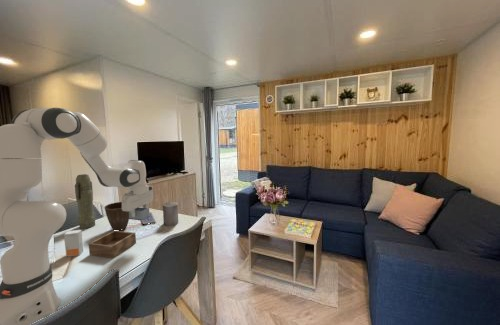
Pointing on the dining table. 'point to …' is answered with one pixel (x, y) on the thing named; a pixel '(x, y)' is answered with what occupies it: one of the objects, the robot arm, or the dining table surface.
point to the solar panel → (149, 219)
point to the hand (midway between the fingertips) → (139, 214)
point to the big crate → (112, 244)
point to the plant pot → (117, 216)
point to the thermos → (84, 201)
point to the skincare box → (73, 243)
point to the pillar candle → (170, 213)
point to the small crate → (140, 213)
